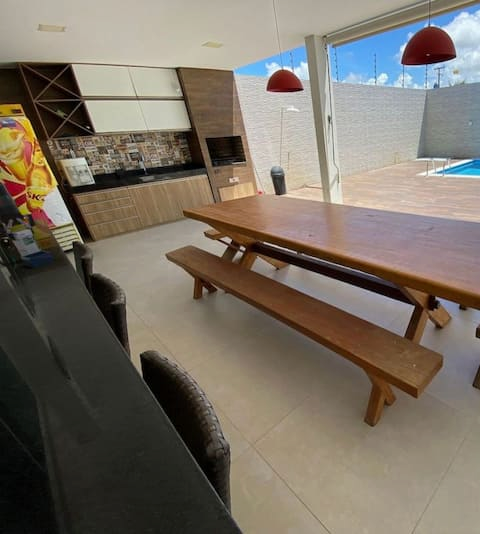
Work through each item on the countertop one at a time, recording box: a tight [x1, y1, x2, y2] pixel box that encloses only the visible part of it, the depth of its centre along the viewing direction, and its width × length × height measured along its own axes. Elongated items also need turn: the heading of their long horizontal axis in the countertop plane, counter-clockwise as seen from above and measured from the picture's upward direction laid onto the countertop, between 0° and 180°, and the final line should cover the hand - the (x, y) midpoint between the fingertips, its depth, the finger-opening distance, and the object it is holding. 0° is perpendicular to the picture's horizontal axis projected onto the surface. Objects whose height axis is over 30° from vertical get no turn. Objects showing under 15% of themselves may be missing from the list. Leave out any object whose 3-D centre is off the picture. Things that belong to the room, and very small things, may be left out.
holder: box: [20, 250, 55, 269], centre depth 148 cm, size 8×8×5 cm
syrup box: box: [10, 228, 43, 257], centre depth 153 cm, size 6×6×14 cm
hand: (23, 237), depth 151 cm, fingers closed on syrup box, 6 cm apart
